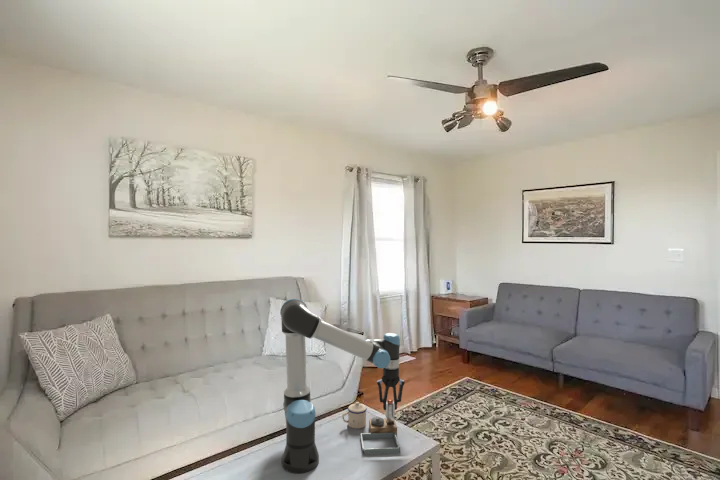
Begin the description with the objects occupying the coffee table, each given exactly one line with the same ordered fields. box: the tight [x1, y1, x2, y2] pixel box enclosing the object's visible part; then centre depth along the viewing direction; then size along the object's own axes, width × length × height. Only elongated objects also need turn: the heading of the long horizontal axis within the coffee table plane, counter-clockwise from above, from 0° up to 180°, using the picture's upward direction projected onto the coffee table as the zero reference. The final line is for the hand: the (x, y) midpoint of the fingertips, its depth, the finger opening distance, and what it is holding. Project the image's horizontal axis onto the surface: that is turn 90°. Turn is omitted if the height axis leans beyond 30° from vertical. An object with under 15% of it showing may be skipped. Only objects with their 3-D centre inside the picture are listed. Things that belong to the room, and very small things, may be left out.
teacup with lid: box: [341, 401, 367, 429], centre depth 191 cm, size 12×9×12 cm
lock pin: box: [387, 398, 394, 425], centre depth 185 cm, size 3×3×14 cm
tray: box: [359, 432, 401, 455], centre depth 173 cm, size 16×13×3 cm
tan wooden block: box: [368, 416, 398, 437], centre depth 185 cm, size 12×9×7 cm
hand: (389, 416), depth 185 cm, fingers closed on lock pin, 3 cm apart
